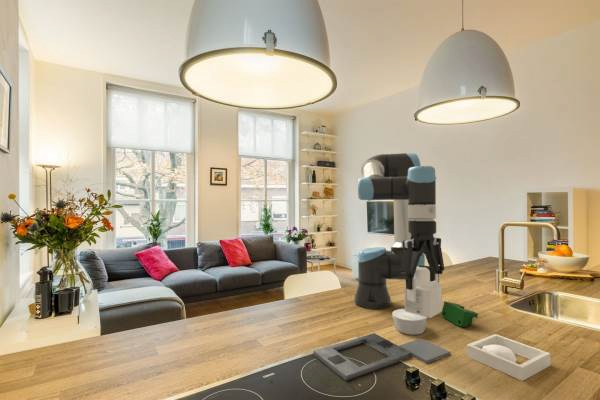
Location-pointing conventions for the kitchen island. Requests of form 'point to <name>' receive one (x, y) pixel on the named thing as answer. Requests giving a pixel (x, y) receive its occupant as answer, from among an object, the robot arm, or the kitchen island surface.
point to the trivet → (425, 350)
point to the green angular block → (458, 314)
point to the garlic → (501, 351)
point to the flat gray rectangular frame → (350, 369)
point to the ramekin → (409, 322)
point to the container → (425, 293)
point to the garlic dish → (521, 372)
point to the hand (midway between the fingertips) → (423, 297)
